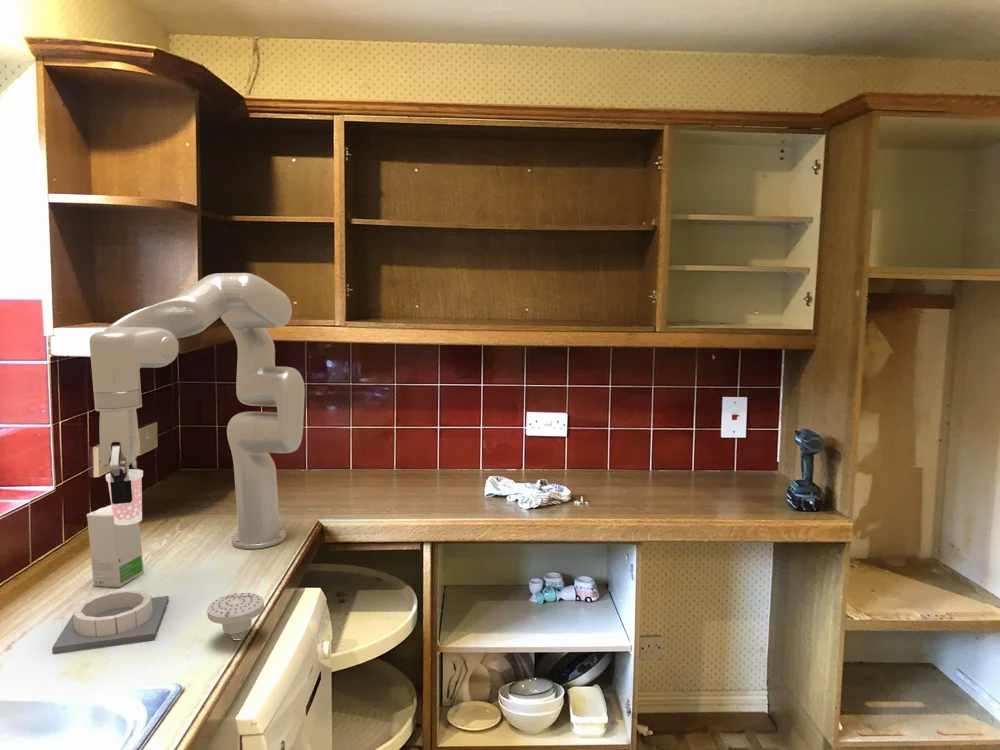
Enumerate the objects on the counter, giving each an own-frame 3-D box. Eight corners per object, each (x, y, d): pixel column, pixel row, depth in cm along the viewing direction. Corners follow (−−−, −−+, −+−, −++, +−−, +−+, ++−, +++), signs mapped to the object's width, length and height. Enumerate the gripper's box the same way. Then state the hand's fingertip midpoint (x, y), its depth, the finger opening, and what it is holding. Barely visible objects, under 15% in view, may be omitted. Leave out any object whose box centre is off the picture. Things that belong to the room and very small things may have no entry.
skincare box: (118, 588, 150) (112, 516, 148) (90, 586, 151) (83, 514, 149) (145, 572, 158) (139, 503, 156) (118, 570, 159) (112, 502, 157)
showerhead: (196, 613, 122) (217, 588, 132) (199, 654, 123) (220, 625, 133) (253, 612, 123) (269, 586, 132) (255, 652, 124) (272, 624, 133)
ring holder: (78, 612, 139) (76, 592, 139) (169, 601, 144) (167, 581, 143) (52, 654, 124) (50, 630, 123) (155, 639, 128) (153, 617, 128)
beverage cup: (114, 517, 135) (108, 443, 133) (150, 514, 137) (144, 441, 135) (105, 528, 129) (98, 451, 128) (142, 524, 131) (136, 448, 129)
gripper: (105, 394, 137) (113, 486, 140) (82, 409, 121) (92, 514, 123) (149, 392, 139) (155, 483, 142) (132, 406, 123) (140, 509, 125)
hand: (126, 496), depth 132 cm, fingers closed on beverage cup, 6 cm apart
